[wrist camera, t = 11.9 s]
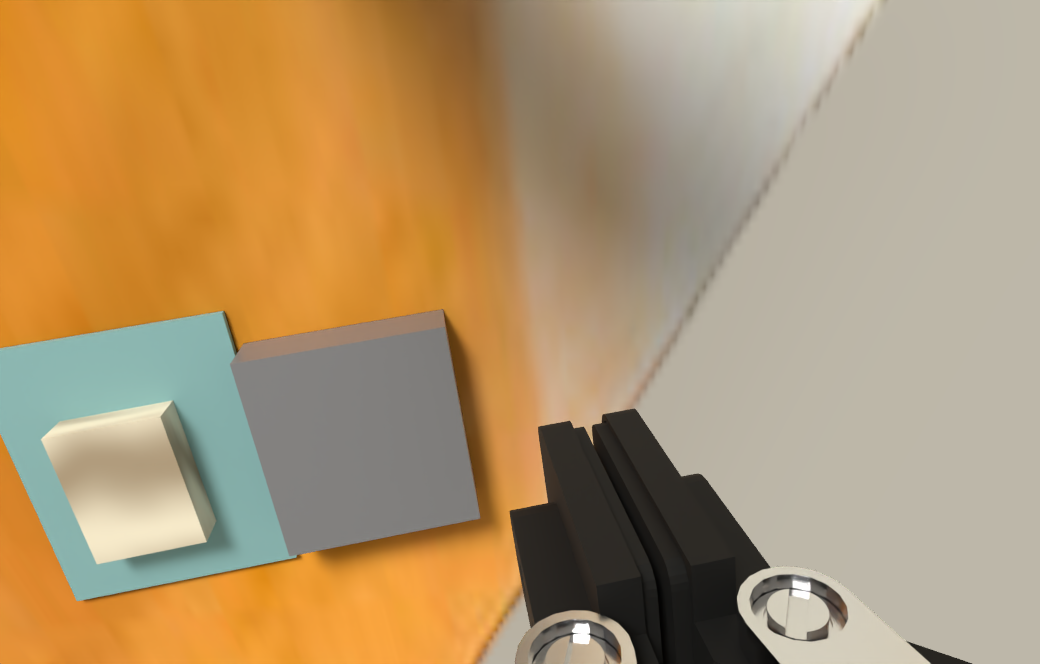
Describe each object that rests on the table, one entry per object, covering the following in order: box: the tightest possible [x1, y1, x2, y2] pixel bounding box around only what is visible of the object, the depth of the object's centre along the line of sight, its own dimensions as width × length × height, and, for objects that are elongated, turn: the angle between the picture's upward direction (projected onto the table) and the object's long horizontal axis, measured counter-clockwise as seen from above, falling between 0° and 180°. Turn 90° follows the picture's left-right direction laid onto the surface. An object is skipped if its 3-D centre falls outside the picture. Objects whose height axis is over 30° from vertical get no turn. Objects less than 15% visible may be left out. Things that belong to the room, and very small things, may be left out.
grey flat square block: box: [230, 309, 480, 556], centre depth 39 cm, size 12×11×3 cm
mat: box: [0, 311, 297, 601], centre depth 39 cm, size 16×13×1 cm
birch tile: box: [41, 400, 216, 564], centre depth 38 cm, size 8×6×2 cm
